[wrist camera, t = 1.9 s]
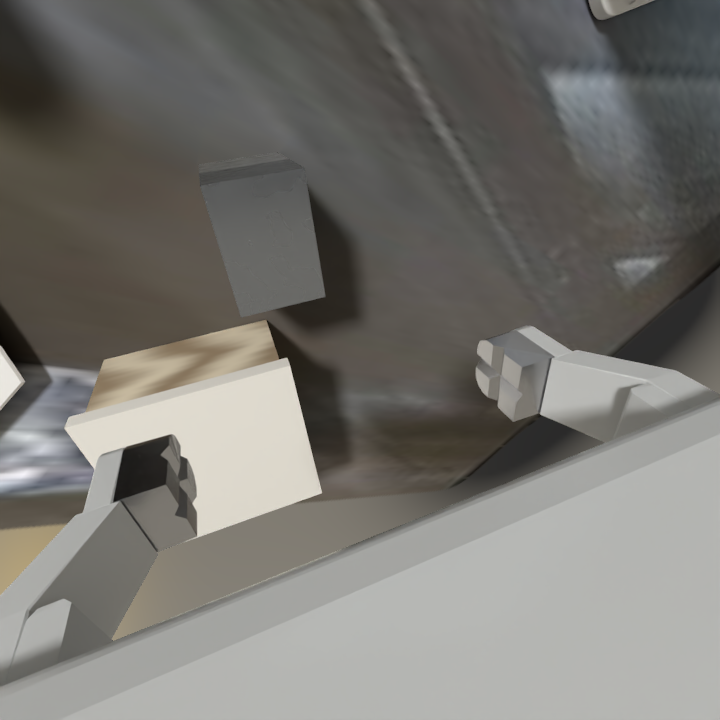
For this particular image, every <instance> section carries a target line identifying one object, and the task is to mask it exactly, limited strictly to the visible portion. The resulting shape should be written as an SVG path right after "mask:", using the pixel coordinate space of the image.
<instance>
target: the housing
mask: <svg viewBox="0 0 720 720" xmlns="http://www.w3.org/2000/svg"><path fill="white" fill-rule="evenodd" d="M199 176H200V187H201V190H202V193H203V197H204V200H205V203H206V206H207V209H208V213H209V216H210V219H211V222H212V225H213V229H214V232H215V235H216V238H217V242H218V245H219V248H220V251H221V254H222V258H223V261H224V264H225V267H226V270H227V274H228V277H229V280H230V283H231V287H232V290H233V293H234V296H235V299H236V303H237V306H238V309H239V312H240V315H241V317H245V316H249V315H253V314H257V313H261V312H265V311H269V310H274V309H278V308H282V307H286V306H290V305H294V304H298V303H302V302H306V301H310V300H315V299H319V298H323V297H326V296H325V290H324V284H323V278H322V272H321V266H320V260H319V254H318V248H317V242H316V236H315V230H314V224H313V218H312V212H311V206H310V200H309V194H308V188H307V182H306V176H305V170H304V168H303V167H302V166H300V165H298V164H296V163H295V162H293V161H291V160H290V159H288V158H286V157H285V156H283V155H281V154H280V153H278V152H276V153H270V154H263V155H257V156H250V157H244V158H238V159H231V160H225V161H219V162H212V163H206V164H199Z"/></svg>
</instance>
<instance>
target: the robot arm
mask: <svg viewBox="0 0 720 720" xmlns="http://www.w3.org/2000/svg"><path fill="white" fill-rule="evenodd" d="M588 1H589V4H590V8H591V10H592V13H593V15H594V16H595V17H596V18H597V19H599V20H605V19H608V18H611V17H613V16H616V15H619V14H621V13H624V12H626V11H629V10H632V9H634V8H637V7H639V6H642V5H644V4H647V3H649V2H652V1H654V0H588ZM477 354H478V355H479V357H480V358H481V360H480V362H479V363H478V365H477V366H476V379H477V382H478V386H479V387H480V389H481V391H482V392H483V393H484V394H485V395H486V396H487V397H488V398H491V399H494V400H497V402H498V408H499V409H500V410H501V411H502V412H503V413H504V414H505V415H506V416H507V417H509V418H510V419H511V420H512V421H513V422H514V421H517V420H520V419H523V418H526V417H529V416H532V415H535V414H538V413H540V415H542V416H545V417H547V418H549V419H552V420H554V421H556V422H559V423H561V424H564V425H566V426H568V427H571V428H573V429H575V430H578V431H580V432H582V433H584V434H587V435H589V436H591V437H594V438H596V439H599V440H601V441H603V442H605V443H604V444H602V445H599V446H596V447H594V448H591V449H589V450H587V451H584V452H582V453H579V454H577V455H574V456H572V457H569V458H567V459H564V460H562V461H559V462H557V463H554V464H552V465H549V466H547V467H544V468H542V469H539V470H537V471H534V472H532V473H529V474H527V475H525V476H522V477H520V478H517V479H515V480H512V481H510V482H507V483H505V484H502V485H500V486H497V487H495V488H493V489H490V490H487V491H485V492H482V493H480V494H477V495H475V496H472V497H470V498H467V499H465V500H462V501H460V502H458V503H455V504H453V505H450V506H448V507H445V508H443V509H440V510H438V511H435V512H433V513H430V514H428V515H425V516H423V517H420V518H418V519H415V520H413V521H410V522H408V523H405V524H403V525H400V526H398V527H395V528H393V529H390V530H388V531H386V532H383V533H381V534H378V535H376V536H373V537H371V538H368V539H366V540H363V541H361V542H358V543H356V544H353V545H351V546H348V547H346V548H343V549H341V550H338V551H336V552H333V553H331V554H328V555H326V556H324V557H321V558H318V559H316V560H313V561H311V562H308V563H306V564H304V565H301V566H299V567H296V568H294V569H291V570H289V571H286V572H284V573H281V574H279V575H276V576H274V577H271V578H269V579H266V580H264V581H262V582H259V583H256V584H254V585H251V586H249V587H246V588H244V589H242V590H239V591H236V592H234V593H231V594H229V595H227V596H224V597H222V598H219V599H217V600H214V601H212V602H209V603H207V604H205V605H202V606H199V607H197V608H194V609H192V610H189V611H187V612H184V613H182V614H179V615H177V616H174V617H172V618H170V619H167V620H164V621H162V622H160V623H157V624H155V625H152V626H150V627H147V628H145V629H142V630H140V631H137V632H135V633H132V634H130V635H127V636H125V637H122V638H120V639H117V640H115V641H113V640H112V637H113V635H114V633H115V632H116V630H117V628H118V626H119V624H120V623H121V621H122V619H123V617H124V615H125V613H126V612H127V610H128V608H129V606H130V605H131V603H132V601H133V599H134V597H135V595H136V593H137V592H138V590H139V588H140V586H141V585H142V583H143V581H144V579H145V577H146V576H147V574H148V572H149V570H150V568H151V566H152V565H153V563H154V561H155V559H156V557H157V556H158V553H157V552H159V551H162V550H164V549H167V548H170V547H172V546H175V545H177V544H180V543H182V542H185V541H187V540H190V539H193V538H195V537H197V511H196V509H195V507H194V506H193V504H192V503H193V501H194V500H195V498H196V497H197V488H196V482H195V476H194V473H193V470H192V467H191V465H190V463H189V461H188V459H187V458H184V457H182V456H181V445H180V444H179V442H178V440H177V438H176V437H175V435H173V434H170V435H166V436H162V437H159V438H155V439H152V440H148V441H145V442H141V443H137V444H134V445H130V446H127V447H125V448H120V449H117V450H114V451H110V452H107V453H103V454H102V455H101V456H100V457H99V458H98V459H97V463H96V467H95V471H94V474H93V478H92V482H91V485H90V489H89V493H88V496H87V500H86V504H85V507H84V511H83V513H81V514H78V515H75V516H74V517H73V519H72V520H71V521H70V522H69V523H68V524H67V525H66V526H65V527H64V528H63V529H62V530H61V531H60V532H59V533H58V535H57V536H56V537H55V538H54V539H53V540H52V541H51V542H50V543H49V544H48V545H47V546H46V547H45V549H44V550H43V551H42V552H41V553H40V554H39V555H38V556H37V557H36V558H35V559H34V560H33V561H32V562H31V564H30V565H29V566H28V567H27V568H26V569H25V570H24V571H23V572H22V573H21V574H20V575H19V576H18V577H17V578H16V579H15V580H14V582H13V583H12V584H11V585H10V586H9V587H8V588H7V589H6V590H5V591H4V592H3V593H2V594H1V596H0V720H720V394H718V393H716V392H715V391H713V390H711V389H709V388H707V387H705V386H703V385H702V384H700V383H698V382H696V381H694V380H692V379H691V378H689V377H687V376H685V375H683V374H681V373H680V372H678V371H675V370H670V369H665V368H661V367H656V366H651V365H646V364H641V363H637V362H631V361H627V360H622V359H617V358H613V357H608V356H603V355H598V354H593V353H588V352H584V351H579V350H576V351H573V352H572V351H571V350H569V349H568V348H566V347H564V346H563V345H561V344H560V343H558V342H557V341H555V340H553V339H552V338H550V337H549V336H547V335H545V334H544V333H542V332H541V331H539V330H538V329H536V328H534V327H533V326H524V327H521V328H518V329H515V330H512V331H511V332H507V333H504V334H501V335H498V336H494V337H491V338H488V339H485V340H481V341H480V343H479V345H478V350H477Z"/></svg>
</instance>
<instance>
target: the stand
mask: <svg viewBox="0 0 720 720" xmlns="http://www.w3.org/2000/svg"><path fill="white" fill-rule="evenodd" d="M64 429H65V430H66V431H67V433H68V434H69V435H70V437H71V438H72V439H73V441H74V442H75V443H76V445H77V446H78V447H79V449H80V450H81V452H82V453H83V454H84V456H85V457H86V458H87V460H88V461H89V462H90V464H91V465H92V466H93V468H94V469H95V467H96V463H97V459H98V458H99V457H100V456H101V455H102V454H103V453H107V452H110V451H114V450H117V449H120V448H125V447H127V446H130V445H134V444H137V443H141V442H145V441H148V440H152V439H155V438H159V437H162V436H166V435H170V434H173V435H175V437H176V438H177V440H178V442H179V444H180V445H181V456H182V457H184V458H187V459H188V461H189V463H190V465H191V467H192V470H193V473H194V476H195V482H196V488H197V497H196V498H195V500H194V501H193V503H192V504H193V506H194V507H195V509H196V511H197V537H200V536H203V535H205V534H208V533H211V532H214V531H217V530H220V529H222V528H225V527H228V526H231V525H234V524H236V523H239V522H242V521H245V520H248V519H250V518H253V517H256V516H258V515H262V514H264V513H267V512H270V511H273V510H276V509H279V508H281V507H284V506H287V505H290V504H293V503H295V502H298V501H301V500H304V499H307V498H309V497H312V496H315V495H318V494H321V493H322V491H321V487H320V483H319V479H318V475H317V471H316V467H315V463H314V459H313V455H312V451H311V447H310V443H309V439H308V435H307V431H306V427H305V423H304V419H303V415H302V411H301V407H300V403H299V399H298V395H297V391H296V387H295V383H294V379H293V375H292V371H291V367H290V364H289V361H288V358H284V359H280V360H279V357H278V354H277V351H276V348H275V345H274V342H273V339H272V336H271V333H270V330H269V327H268V324H267V321H266V320H263V321H259V322H255V323H251V324H247V325H243V326H238V327H234V328H230V329H226V330H222V331H218V332H214V333H210V334H206V335H202V336H198V337H194V338H190V339H186V340H182V341H178V342H174V343H170V344H166V345H162V346H158V347H154V348H150V349H146V350H142V351H138V352H134V353H130V354H126V355H122V356H118V357H114V358H110V359H106V360H104V361H103V364H102V367H101V370H100V373H99V376H98V378H97V381H96V384H95V387H94V390H93V392H92V395H91V398H90V401H89V404H88V407H87V409H86V412H85V413H82V414H78V415H74V416H71V417H69V418H68V420H67V423H66V425H65V428H64ZM197 537H195V538H197ZM193 539H194V538H193ZM190 540H191V539H190ZM187 541H188V540H187ZM185 542H186V541H185ZM182 543H183V542H182Z"/></svg>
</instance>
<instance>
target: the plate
mask: <svg viewBox="0 0 720 720" xmlns="http://www.w3.org/2000/svg"><path fill="white" fill-rule="evenodd" d="M24 383H25V379H24V378H23V377H22V375H21V374H20V372H19V371H18V369H17V368H16V366H15V365H14V363H13V362H12V360H11V359H10V358H9V356H8V355H7V353H6V352H5V350H4V349H3V347H2V346H1V345H0V410H1V409H2V408H3V407H4V406H5V405H6V403H7V402H8V401H9V400H10V399H11V398H12V397H13V395H14V394H15V393H16V392H17V391H18V390H19V388H20V387H21V386H22V385H23V384H24Z"/></svg>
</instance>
